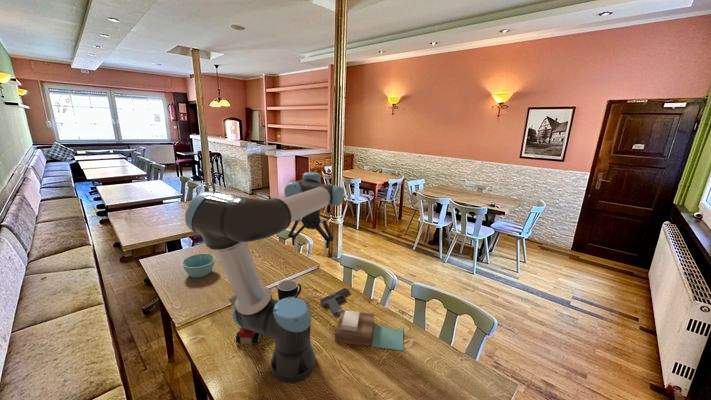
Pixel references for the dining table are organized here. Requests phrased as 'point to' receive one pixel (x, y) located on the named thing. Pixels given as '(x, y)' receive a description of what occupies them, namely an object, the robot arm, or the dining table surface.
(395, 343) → the mat
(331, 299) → the handgun
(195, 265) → the bowl
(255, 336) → the toy fire truck
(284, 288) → the mug
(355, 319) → the white rectangular block
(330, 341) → the dining table surface
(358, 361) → the dining table surface
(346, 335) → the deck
